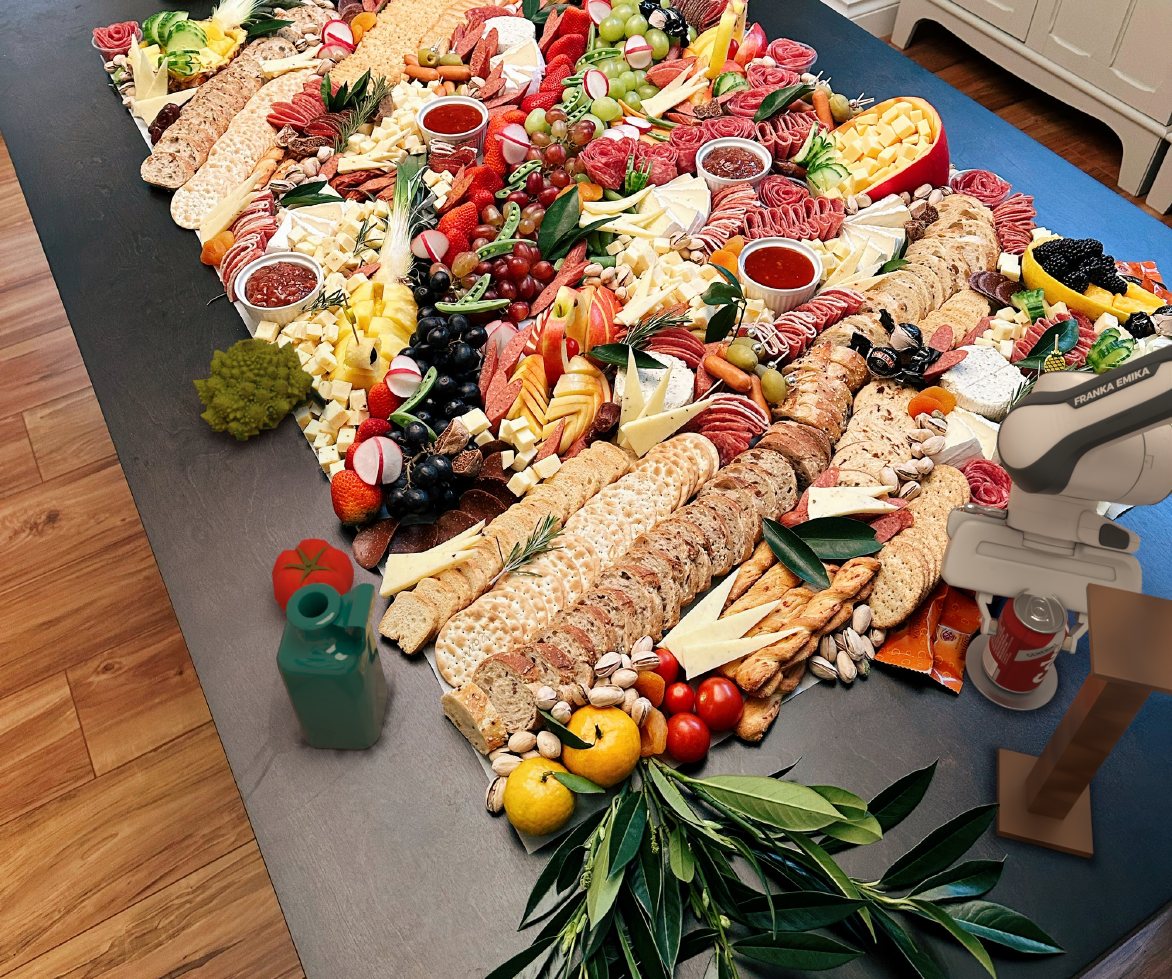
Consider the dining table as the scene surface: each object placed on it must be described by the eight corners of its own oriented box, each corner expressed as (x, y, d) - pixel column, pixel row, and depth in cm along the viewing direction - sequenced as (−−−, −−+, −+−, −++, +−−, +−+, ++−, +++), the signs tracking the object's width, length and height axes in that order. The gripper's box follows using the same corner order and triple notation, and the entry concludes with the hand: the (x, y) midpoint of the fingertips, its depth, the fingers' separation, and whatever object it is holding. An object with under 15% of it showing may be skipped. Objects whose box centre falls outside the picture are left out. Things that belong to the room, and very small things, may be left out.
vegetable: (353, 379, 155) (276, 334, 143) (291, 476, 153) (208, 439, 142) (296, 342, 164) (220, 298, 153) (237, 433, 162) (155, 395, 151)
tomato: (283, 637, 130) (270, 601, 125) (276, 576, 136) (263, 539, 131) (363, 617, 132) (354, 581, 127) (353, 557, 138) (343, 520, 133)
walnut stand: (1084, 774, 118) (1198, 605, 96) (1089, 858, 112) (1212, 698, 89) (996, 753, 120) (1088, 582, 97) (996, 835, 113) (1094, 672, 91)
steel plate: (1055, 642, 129) (1056, 640, 129) (1058, 721, 122) (1059, 719, 122) (965, 623, 131) (966, 621, 131) (964, 699, 124) (964, 697, 124)
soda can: (979, 687, 125) (1007, 629, 116) (981, 636, 129) (1007, 576, 121) (1043, 702, 123) (1075, 644, 115) (1042, 650, 128) (1073, 590, 120)
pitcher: (300, 749, 120) (257, 639, 105) (317, 677, 126) (279, 564, 111) (390, 752, 120) (361, 643, 105) (403, 681, 126) (377, 567, 111)
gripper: (955, 501, 120) (932, 628, 120) (1156, 541, 117) (1133, 671, 116) (947, 496, 127) (925, 616, 127) (1138, 533, 123) (1116, 657, 123)
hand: (1027, 643), depth 121 cm, fingers closed on soda can, 7 cm apart
